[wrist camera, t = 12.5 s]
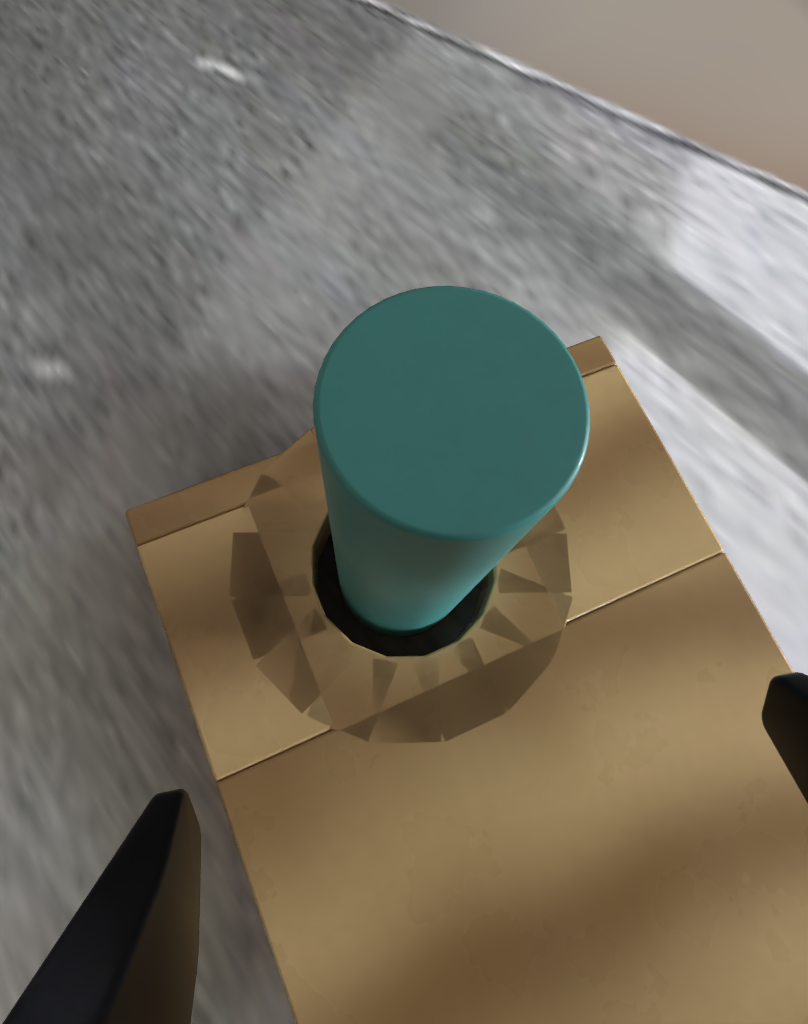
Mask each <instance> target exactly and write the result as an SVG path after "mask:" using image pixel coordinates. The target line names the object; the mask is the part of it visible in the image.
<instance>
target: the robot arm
mask: <svg viewBox="0 0 808 1024" xmlns="http://www.w3.org/2000/svg"><path fill="white" fill-rule="evenodd" d="M761 715H762V722H763V725H764V728H765V730H766V732H767V734H768V735H769V737H770V739H771V741H772V742H773V744H774V746H775V748H776V749H777V751H778V753H779V755H780V756H781V758H782V760H783V762H784V763H785V765H786V767H787V769H788V770H789V772H790V774H791V776H792V777H793V779H794V781H795V783H796V784H797V786H798V788H799V789H800V791H801V793H802V795H803V796H804V798H805V800H806V802H807V803H808V676H807V675H805V674H803V673H798V672H794V673H788V674H783V675H778V676H775V677H773V678H772V679H771V681H770V683H769V686H768V690H767V694H766V697H765V701H764V705H763V709H762V713H761ZM200 869H201V833H200V827H199V823H198V820H197V817H196V815H195V812H194V809H193V806H192V803H191V801H190V798H189V795H188V793H187V792H186V791H185V790H183V789H178V790H173V791H168V792H162V793H159V794H157V795H155V796H154V797H153V798H152V799H151V801H150V802H149V804H148V805H147V807H146V808H145V810H144V811H143V813H142V814H141V816H140V817H139V819H138V820H137V822H136V823H135V825H134V826H133V828H132V829H131V831H130V832H129V834H128V835H127V837H126V838H125V840H124V841H123V843H122V844H121V846H120V847H119V849H118V850H117V852H116V853H115V855H114V857H113V858H112V860H111V861H110V863H109V864H108V866H107V867H106V869H105V870H104V872H103V873H102V875H101V876H100V878H99V879H98V881H97V882H96V884H95V885H94V887H93V888H92V890H91V891H90V893H89V894H88V896H87V897H86V899H85V900H84V902H83V903H82V905H81V906H80V908H79V909H78V911H77V912H76V914H75V915H74V917H73V918H72V920H71V921H70V923H69V924H68V926H67V927H66V929H65V930H64V932H63V933H62V935H61V936H60V938H59V939H58V941H57V942H56V944H55V945H54V947H53V948H52V950H51V951H50V953H49V954H48V956H47V957H46V959H45V960H44V962H43V964H42V965H41V967H40V968H39V970H38V971H37V973H36V974H35V976H34V977H33V979H32V980H31V982H30V983H29V985H28V986H27V988H26V989H25V991H24V992H23V994H22V995H21V997H20V998H19V1000H18V1001H17V1003H16V1004H15V1006H14V1007H13V1009H12V1010H11V1012H10V1013H9V1015H8V1016H7V1018H6V1019H5V1021H4V1022H3V1024H190V1022H191V1014H192V1006H193V998H194V990H195V982H196V974H197V964H198V951H199V917H200Z"/></svg>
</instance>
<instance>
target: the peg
mask: <svg viewBox="0 0 808 1024" xmlns="http://www.w3.org/2000/svg"><path fill="white" fill-rule="evenodd" d="M313 414H314V426H315V432H316V438H317V445H318V451H319V457H320V463H321V470H322V476H323V482H324V489H325V495H326V501H327V508H328V514H329V520H330V526H331V533H332V539H333V545H334V552H335V558H336V564H337V570H338V577H339V583H340V588H341V593H342V596H343V599H344V601H345V603H346V605H347V607H348V609H349V610H350V612H351V613H352V614H353V615H354V617H355V618H356V619H357V620H358V621H359V622H361V623H362V624H363V625H364V626H366V627H367V628H369V629H371V630H373V631H375V632H377V633H380V634H383V635H387V636H392V637H408V636H413V635H417V634H420V633H423V632H425V631H427V630H429V629H431V628H433V627H434V626H435V625H437V624H438V623H439V622H440V621H441V620H442V619H444V617H445V616H446V615H447V614H448V613H449V612H450V611H451V610H452V609H453V608H454V607H455V606H456V605H457V604H458V603H459V602H460V601H461V600H462V599H463V598H464V597H465V596H466V595H467V594H468V593H469V592H470V591H471V590H472V589H473V588H474V587H475V586H476V585H477V584H478V583H479V582H480V581H481V580H482V579H483V578H484V577H485V576H486V575H487V574H488V573H489V572H490V571H491V570H492V569H493V568H494V567H495V565H496V564H497V563H498V562H499V561H500V560H501V559H502V558H503V557H504V556H505V555H506V554H507V553H508V552H509V551H510V550H511V549H512V548H513V547H514V546H515V545H516V544H517V543H518V542H519V541H520V540H521V539H522V538H523V537H524V536H525V535H526V534H527V533H528V532H529V531H530V530H531V529H532V528H533V527H534V526H535V525H536V524H537V523H538V522H539V521H540V520H541V519H542V518H543V517H544V516H545V514H546V513H547V512H548V511H549V510H550V509H551V508H552V507H553V506H554V505H555V504H556V503H557V502H558V501H559V500H560V499H561V498H562V496H563V495H564V494H565V493H566V491H567V490H568V489H569V488H570V486H571V484H572V483H573V481H574V479H575V478H576V476H577V474H578V472H579V470H580V467H581V465H582V463H583V460H584V458H585V454H586V450H587V446H588V442H589V432H590V408H589V402H588V397H587V391H586V388H585V385H584V382H583V378H582V375H581V373H580V371H579V369H578V367H577V365H576V363H575V360H574V359H573V357H572V356H571V354H570V352H569V351H568V349H567V348H566V346H565V345H564V344H563V343H562V341H561V340H560V339H559V338H558V336H557V335H556V334H555V333H554V332H553V331H552V330H551V329H550V328H549V327H548V326H547V325H546V324H545V323H544V322H542V321H541V320H540V319H538V318H537V317H536V316H535V315H533V314H532V313H531V312H529V311H527V310H526V309H524V308H522V307H521V306H519V305H517V304H516V303H514V302H511V301H509V300H507V299H505V298H502V297H500V296H498V295H494V294H491V293H488V292H485V291H481V290H476V289H471V288H466V287H454V286H433V287H426V288H419V289H414V290H410V291H406V292H402V293H399V294H396V295H394V296H391V297H389V298H386V299H384V300H382V301H380V302H379V303H377V304H375V305H373V306H371V307H370V308H368V309H367V310H366V311H364V312H363V313H362V314H360V315H359V316H357V317H356V318H355V319H354V320H353V321H352V322H351V323H350V324H349V325H348V326H347V327H346V328H345V329H344V330H343V331H342V332H341V334H340V335H339V336H338V337H337V339H336V340H335V341H334V342H333V344H332V346H331V347H330V349H329V351H328V353H327V354H326V356H325V358H324V361H323V363H322V365H321V368H320V370H319V373H318V377H317V381H316V385H315V391H314V401H313Z"/></svg>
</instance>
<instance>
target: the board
mask: <svg viewBox="0 0 808 1024" xmlns="http://www.w3.org/2000/svg"><path fill="white" fill-rule="evenodd" d="M567 349H568V351H569V352H570V354H571V356H572V357H573V359H574V360H575V363H576V365H577V367H578V369H579V371H580V373H581V375H582V378H583V382H584V385H585V388H586V391H587V397H588V402H589V408H590V432H589V442H588V446H587V450H586V454H585V458H584V460H583V463H582V465H581V467H580V470H579V472H578V474H577V476H576V478H575V479H574V481H573V483H572V484H571V486H570V488H569V489H568V490H567V491H566V493H565V494H564V495H563V496H562V498H561V499H560V500H559V501H558V502H557V503H556V504H555V505H554V506H553V507H552V508H551V509H550V510H549V511H548V512H547V513H546V514H545V516H544V517H543V518H542V519H541V520H540V521H539V522H538V523H537V524H536V525H535V526H534V527H533V528H532V529H531V530H530V531H529V532H528V533H527V534H526V535H525V536H524V537H523V538H522V539H521V540H520V541H519V542H518V543H517V544H516V545H515V546H514V547H513V548H512V549H511V550H510V551H509V552H508V553H507V554H506V555H505V556H504V557H503V558H502V559H501V560H500V561H499V562H498V563H497V564H496V565H495V567H494V568H493V569H492V570H491V571H490V572H489V573H488V574H487V575H486V576H485V577H484V578H483V579H482V580H481V581H480V584H481V594H480V597H479V599H478V602H477V605H476V608H475V611H474V613H473V616H472V619H471V622H470V624H469V625H468V626H467V627H466V628H465V629H464V630H463V631H462V632H461V634H460V635H459V636H458V637H457V638H456V639H455V640H454V641H453V642H452V643H451V644H450V645H447V646H445V647H443V648H441V649H438V650H436V651H434V652H432V653H429V654H427V655H425V656H385V655H382V654H380V653H377V652H375V651H372V650H370V649H367V648H365V647H362V646H360V645H358V644H355V643H353V642H351V641H350V640H349V639H348V638H347V637H346V636H345V635H344V634H343V633H342V632H341V631H340V630H339V629H338V628H337V627H336V626H335V625H334V624H333V622H332V621H331V620H330V619H329V618H328V617H327V616H326V615H325V612H324V610H323V607H322V605H321V602H320V600H319V597H318V595H317V574H318V560H319V558H320V556H321V554H322V551H323V549H324V547H325V545H326V542H327V540H328V538H329V536H330V533H331V526H330V520H329V514H328V508H327V501H326V495H325V489H324V482H323V476H322V470H321V463H320V457H319V451H318V445H317V438H316V432H315V427H313V428H311V429H310V430H308V431H307V432H306V433H304V434H303V435H302V436H301V437H300V438H299V439H298V440H296V441H295V442H294V443H293V444H292V445H291V446H290V447H289V448H287V449H286V450H285V451H284V452H283V453H281V454H278V455H275V456H273V457H270V458H267V459H265V460H262V461H259V462H256V463H254V464H251V465H248V466H246V467H243V468H240V469H237V470H235V471H232V472H229V473H227V474H224V475H221V476H218V477H216V478H213V479H210V480H208V481H205V482H202V483H199V484H197V485H194V486H191V487H189V488H186V489H183V490H181V491H178V492H175V493H172V494H170V495H167V496H164V497H162V498H159V499H156V500H153V501H151V502H148V503H145V504H143V505H140V506H137V507H134V508H132V509H129V510H127V511H126V517H127V520H128V523H129V526H130V529H131V532H132V535H133V538H134V541H135V543H136V545H137V546H139V547H138V553H139V556H140V559H141V562H142V565H143V568H144V571H145V574H146V577H147V579H148V582H149V585H150V588H151V591H152V594H153V597H154V600H155V603H156V606H157V609H158V612H159V615H160V618H161V621H162V624H163V627H164V630H165V633H166V636H167V639H168V642H169V645H170V648H171V651H172V654H173V657H174V660H175V663H176V666H177V669H178V672H179V675H180V678H181V681H182V684H183V687H184V690H185V693H186V696H187V699H188V702H189V705H190V708H191V711H192V714H193V717H194V720H195V723H196V726H197V729H198V732H199V735H200V738H201V741H202V744H203V747H204V750H205V753H206V756H207V759H208V762H209V765H210V768H211V771H212V774H213V777H214V779H215V780H216V781H218V783H217V789H218V792H219V795H220V798H221V801H222V804H223V807H224V810H225V813H226V816H227V819H228V822H229V825H230V828H231V831H232V834H233V837H234V840H235V843H236V846H237V849H238V852H239V855H240V858H241V861H242V864H243V867H244V870H245V873H246V875H247V878H248V881H249V884H250V887H251V890H252V893H253V896H254V899H255V902H256V905H257V908H258V911H259V914H260V917H261V920H262V923H263V926H264V929H265V932H266V935H267V938H268V941H269V944H270V947H271V950H272V953H273V956H274V959H275V962H276V965H277V968H278V971H279V974H280V977H281V980H282V983H283V986H284V989H285V992H286V995H287V998H288V1001H289V1004H290V1007H291V1010H292V1013H293V1016H294V1019H295V1022H296V1024H808V803H807V802H806V800H805V798H804V796H803V795H802V793H801V791H800V789H799V788H798V786H797V784H796V783H795V781H794V779H793V777H792V776H791V774H790V772H789V770H788V769H787V767H786V765H785V763H784V762H783V760H782V758H781V756H780V755H779V753H778V751H777V749H776V748H775V746H774V744H773V742H772V741H771V739H770V737H769V735H768V734H767V732H766V730H765V728H764V725H763V722H762V715H761V713H762V709H763V705H764V701H765V697H766V694H767V690H768V686H769V683H770V681H771V679H772V678H773V677H775V676H778V675H783V674H788V673H794V672H793V670H792V668H791V666H790V665H789V663H788V661H787V659H786V658H785V656H784V654H783V652H782V651H781V649H780V647H779V646H778V644H777V642H776V640H775V639H774V637H773V635H772V633H771V632H770V630H769V628H768V626H767V625H766V623H765V621H764V619H763V618H762V616H761V614H760V612H759V611H758V609H757V607H756V605H755V604H754V602H753V600H752V598H751V597H750V595H749V593H748V591H747V590H746V588H745V586H744V584H743V583H742V581H741V579H740V578H739V576H738V574H737V572H736V571H735V569H734V567H733V565H732V564H731V562H730V560H729V558H728V557H727V555H726V554H725V553H721V552H722V551H723V548H722V546H721V545H720V543H719V541H718V539H717V538H716V536H715V534H714V532H713V531H712V529H711V527H710V525H709V524H708V522H707V520H706V518H705V517H704V515H703V513H702V511H701V510H700V508H699V506H698V504H697V503H696V501H695V499H694V497H693V496H692V494H691V492H690V490H689V489H688V487H687V485H686V484H685V482H684V480H683V478H682V477H681V475H680V473H679V471H678V470H677V468H676V466H675V464H674V463H673V461H672V459H671V457H670V456H669V454H668V452H667V450H666V449H665V447H664V445H663V443H662V442H661V440H660V438H659V436H658V435H657V433H656V431H655V429H654V428H653V426H652V424H651V422H650V421H649V419H648V417H647V415H646V414H645V412H644V410H643V409H642V407H641V405H640V403H639V402H638V400H637V398H636V396H635V395H634V393H633V391H632V389H631V388H630V386H629V384H628V382H627V381H626V379H625V377H624V375H623V374H622V372H621V370H620V368H619V367H618V366H617V365H615V360H614V358H613V356H612V354H611V353H610V351H609V349H608V348H607V346H606V344H605V342H604V341H603V339H602V337H601V336H598V337H595V338H592V339H590V340H587V341H584V342H581V343H579V344H576V345H573V346H571V347H568V348H567Z"/></svg>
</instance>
